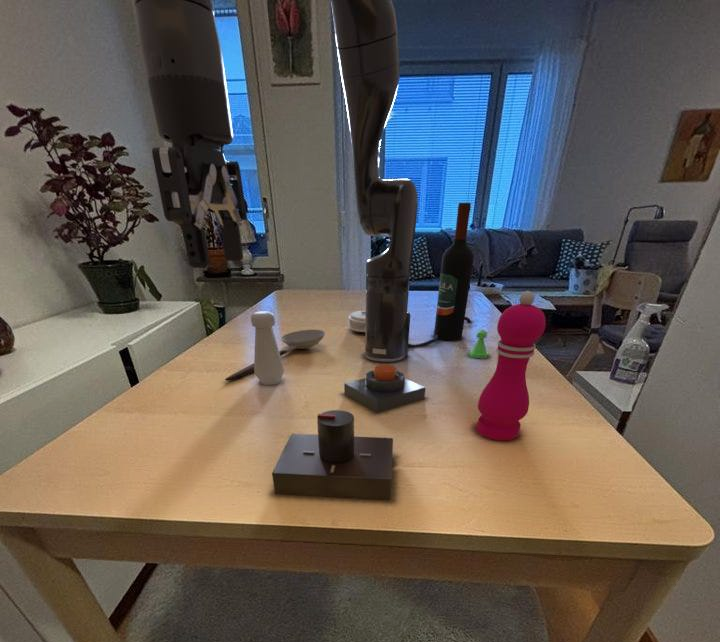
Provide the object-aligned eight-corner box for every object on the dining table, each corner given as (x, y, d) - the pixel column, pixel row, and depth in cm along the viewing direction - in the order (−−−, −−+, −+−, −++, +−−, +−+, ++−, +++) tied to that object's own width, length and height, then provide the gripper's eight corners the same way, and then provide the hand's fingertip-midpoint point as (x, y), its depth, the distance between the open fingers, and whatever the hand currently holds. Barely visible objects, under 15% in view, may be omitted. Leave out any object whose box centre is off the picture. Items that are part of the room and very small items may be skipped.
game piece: (491, 356, 93) (496, 330, 90) (479, 359, 91) (484, 332, 88) (477, 352, 96) (481, 326, 93) (465, 355, 94) (469, 328, 91)
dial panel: (391, 456, 55) (393, 436, 53) (390, 500, 47) (391, 478, 45) (293, 452, 56) (291, 432, 54) (274, 493, 48) (271, 471, 46)
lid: (398, 327, 116) (399, 309, 113) (382, 338, 106) (383, 318, 104) (359, 323, 120) (359, 305, 117) (340, 332, 111) (340, 313, 108)
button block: (390, 382, 79) (391, 362, 76) (424, 398, 72) (426, 377, 70) (344, 394, 73) (343, 373, 71) (376, 413, 67) (377, 390, 64)
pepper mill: (514, 447, 57) (553, 298, 46) (466, 434, 61) (492, 292, 49) (526, 428, 62) (563, 290, 51) (481, 417, 66) (507, 285, 54)
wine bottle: (464, 341, 104) (485, 202, 87) (435, 340, 104) (451, 202, 87) (458, 333, 110) (477, 203, 93) (431, 333, 110) (445, 203, 94)
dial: (355, 446, 51) (355, 408, 48) (352, 463, 48) (352, 424, 45) (322, 444, 52) (320, 406, 49) (316, 462, 48) (313, 422, 45)
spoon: (334, 342, 100) (333, 330, 98) (248, 391, 76) (244, 376, 75) (299, 340, 105) (297, 329, 103) (208, 386, 81) (204, 371, 80)
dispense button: (386, 372, 73) (387, 363, 72) (400, 378, 70) (401, 369, 69) (369, 376, 71) (369, 367, 70) (382, 383, 68) (383, 373, 67)
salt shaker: (278, 387, 76) (270, 316, 69) (251, 385, 77) (240, 315, 70) (289, 377, 81) (282, 309, 73) (263, 375, 82) (253, 308, 74)
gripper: (180, 55, 33) (218, 271, 42) (252, 96, 45) (269, 259, 54) (103, 60, 34) (156, 269, 43) (192, 98, 46) (219, 257, 55)
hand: (218, 263), depth 49 cm, fingers open, 8 cm apart
